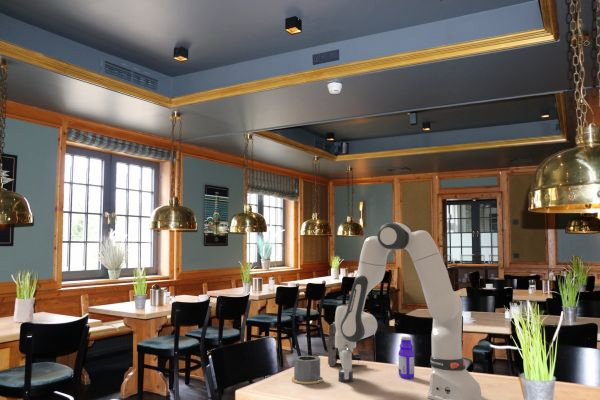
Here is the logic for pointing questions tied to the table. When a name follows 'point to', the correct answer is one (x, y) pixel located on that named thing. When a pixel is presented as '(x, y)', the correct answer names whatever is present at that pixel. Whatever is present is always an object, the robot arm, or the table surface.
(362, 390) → the table surface
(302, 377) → the lens barrel
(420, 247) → the robot arm
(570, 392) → the table surface
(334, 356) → the vintage camera
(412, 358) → the bottle
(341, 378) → the camera lens
